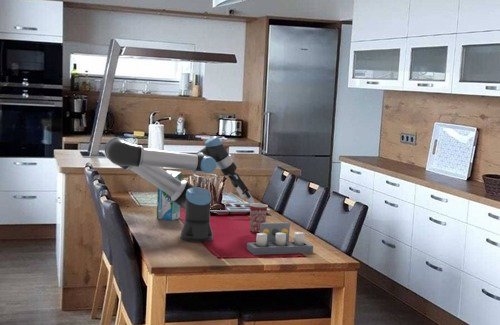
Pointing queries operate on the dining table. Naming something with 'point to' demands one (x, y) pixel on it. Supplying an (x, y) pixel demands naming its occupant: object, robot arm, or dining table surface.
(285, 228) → the card
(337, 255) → the dining table surface
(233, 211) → the maze game
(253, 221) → the mug
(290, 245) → the button board
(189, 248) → the dining table surface
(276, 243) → the button middle
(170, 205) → the milk carton
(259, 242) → the button left
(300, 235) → the button right
